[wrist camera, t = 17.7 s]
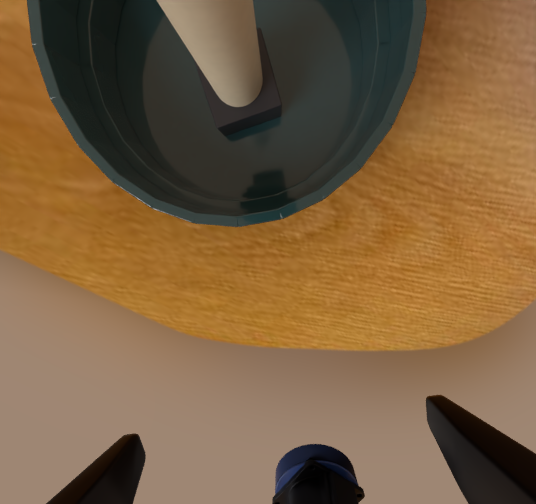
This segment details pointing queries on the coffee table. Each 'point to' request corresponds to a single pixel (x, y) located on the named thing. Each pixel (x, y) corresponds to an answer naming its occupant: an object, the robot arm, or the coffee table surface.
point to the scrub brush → (228, 60)
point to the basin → (198, 111)
